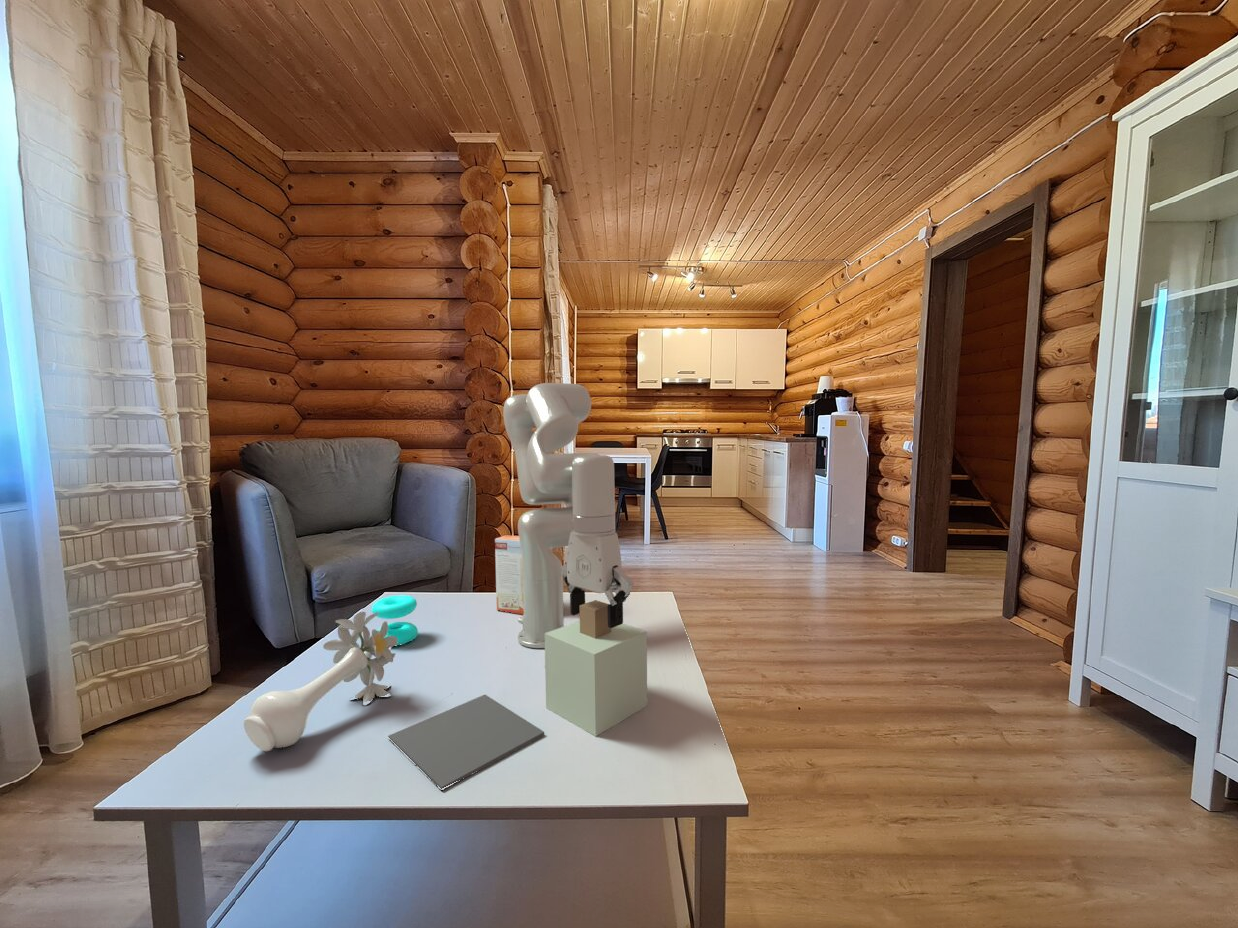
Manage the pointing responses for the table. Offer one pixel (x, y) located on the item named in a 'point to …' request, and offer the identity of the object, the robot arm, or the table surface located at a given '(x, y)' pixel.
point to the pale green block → (595, 670)
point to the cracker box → (509, 574)
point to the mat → (465, 739)
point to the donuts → (397, 616)
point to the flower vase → (322, 684)
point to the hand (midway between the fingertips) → (596, 619)
